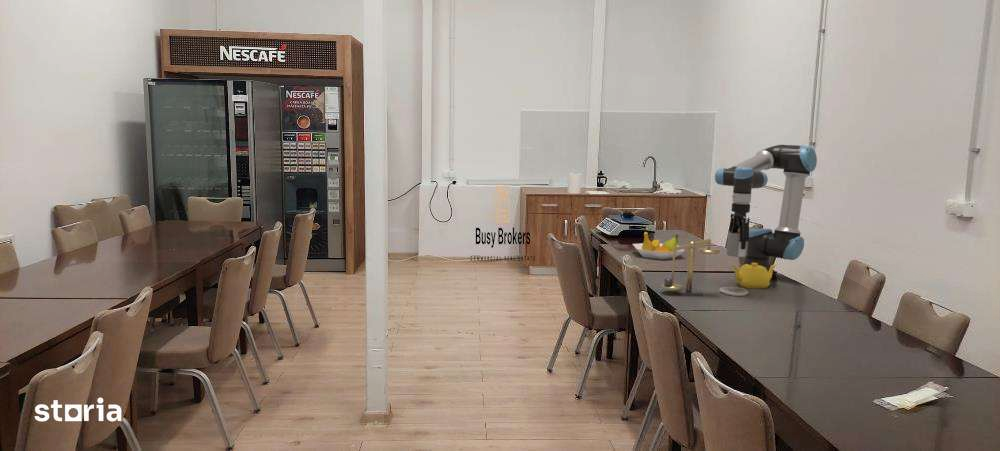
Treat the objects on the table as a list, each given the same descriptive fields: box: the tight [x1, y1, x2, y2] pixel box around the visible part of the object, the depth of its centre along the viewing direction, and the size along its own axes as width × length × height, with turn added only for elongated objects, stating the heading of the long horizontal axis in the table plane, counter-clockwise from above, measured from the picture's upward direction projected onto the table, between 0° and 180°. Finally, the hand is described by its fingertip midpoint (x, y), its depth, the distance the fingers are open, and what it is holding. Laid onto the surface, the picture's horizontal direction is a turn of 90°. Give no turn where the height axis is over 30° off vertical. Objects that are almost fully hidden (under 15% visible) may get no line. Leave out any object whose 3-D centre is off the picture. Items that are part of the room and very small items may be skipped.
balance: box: [660, 238, 721, 297], centre depth 307 cm, size 24×9×24 cm, turn 96°
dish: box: [719, 286, 749, 297], centre depth 312 cm, size 12×12×1 cm
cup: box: [726, 230, 748, 258], centre depth 309 cm, size 8×8×10 cm
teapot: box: [731, 263, 778, 290], centre depth 327 cm, size 22×16×11 cm
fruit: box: [632, 231, 686, 261], centre depth 391 cm, size 30×26×14 cm
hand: (736, 254), depth 309 cm, fingers closed on cup, 8 cm apart
